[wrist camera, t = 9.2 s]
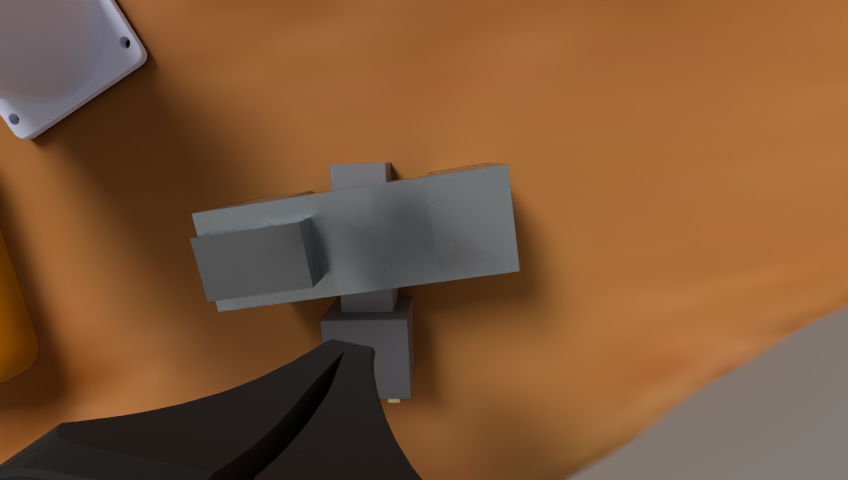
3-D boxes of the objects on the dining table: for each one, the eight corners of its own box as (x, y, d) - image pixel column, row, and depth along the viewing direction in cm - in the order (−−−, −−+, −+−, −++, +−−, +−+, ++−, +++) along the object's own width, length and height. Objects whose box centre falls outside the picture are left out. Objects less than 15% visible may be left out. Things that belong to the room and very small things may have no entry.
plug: (325, 164, 20) (305, 165, 17) (405, 161, 19) (399, 162, 17) (344, 383, 22) (329, 417, 19) (415, 382, 22) (411, 417, 19)
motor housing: (254, 199, 20) (170, 218, 14) (490, 162, 19) (513, 164, 13) (272, 274, 21) (200, 324, 15) (500, 242, 20) (526, 280, 14)
